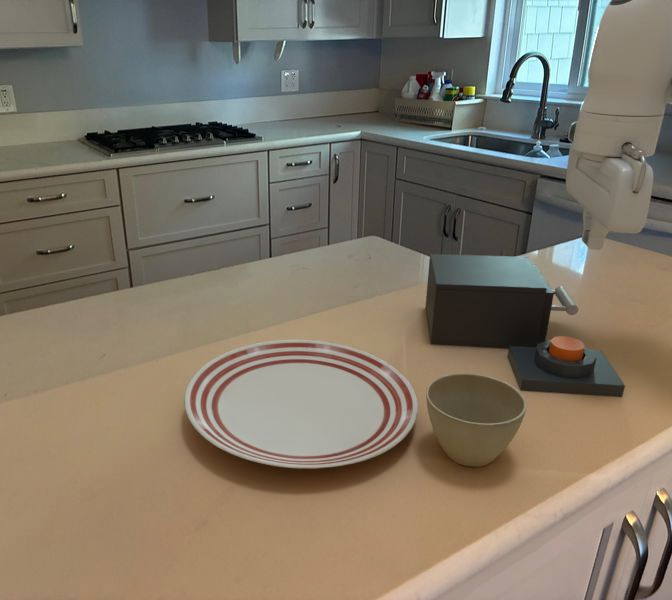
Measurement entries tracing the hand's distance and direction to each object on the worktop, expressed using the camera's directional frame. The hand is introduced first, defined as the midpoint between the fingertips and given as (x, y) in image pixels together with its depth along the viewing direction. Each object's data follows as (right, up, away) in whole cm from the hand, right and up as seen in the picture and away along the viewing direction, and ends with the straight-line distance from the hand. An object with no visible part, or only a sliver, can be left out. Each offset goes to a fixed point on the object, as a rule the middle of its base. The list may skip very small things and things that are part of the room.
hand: (591, 246), depth 80 cm
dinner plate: (-38, -21, -5) cm, 44 cm away
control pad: (-3, -17, +1) cm, 17 cm away
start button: (-3, -14, 0) cm, 14 cm away
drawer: (-6, -11, +13) cm, 18 cm away
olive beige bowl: (-20, -24, -13) cm, 33 cm away
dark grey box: (-10, -11, +14) cm, 21 cm away
